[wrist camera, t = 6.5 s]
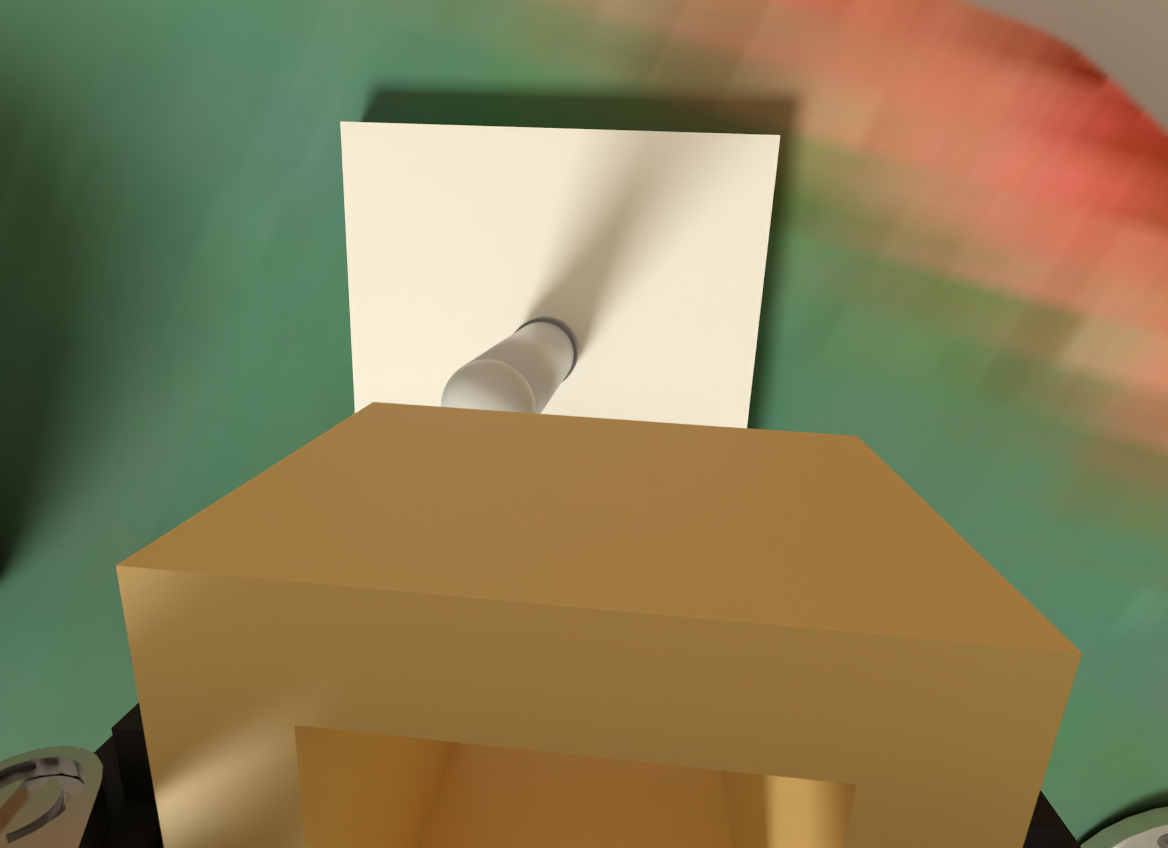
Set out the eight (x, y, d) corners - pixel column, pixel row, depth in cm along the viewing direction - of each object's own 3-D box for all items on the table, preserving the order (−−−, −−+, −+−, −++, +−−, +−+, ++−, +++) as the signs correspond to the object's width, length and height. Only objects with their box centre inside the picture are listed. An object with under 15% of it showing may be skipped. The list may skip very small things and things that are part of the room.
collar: (857, 436, 9) (1081, 652, 5) (788, 826, 11) (895, 1262, 7) (373, 402, 10) (115, 565, 5) (389, 782, 12) (216, 1158, 7)
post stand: (773, 141, 25) (880, 49, 13) (728, 536, 29) (779, 736, 17) (357, 128, 26) (114, 34, 14) (374, 506, 30) (197, 673, 19)
